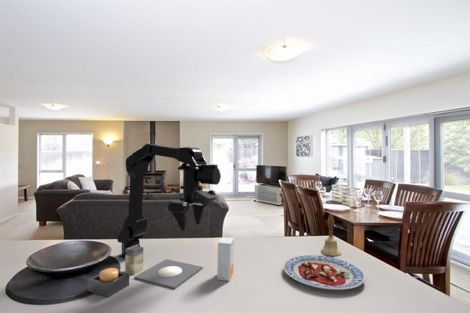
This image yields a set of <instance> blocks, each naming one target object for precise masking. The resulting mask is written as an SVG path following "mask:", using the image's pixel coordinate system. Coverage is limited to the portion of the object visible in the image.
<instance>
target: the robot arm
mask: <svg viewBox="0 0 470 313" xmlns="http://www.w3.org/2000/svg"><path fill="white" fill-rule="evenodd" d="M155 156H158V157H165V158H171V159H174V160H176V161H178V162H180V163H181V165H180V166H178V167H177V171H182V175H183V176H182V185H180V187H179V188H180V190H182V197H180V198H179V199H180V200H172V201H170V202H168V204H167V211H169V212H170V213H171V214H172V215H173V217H174V218H175V220H176V222H177V225H178V227H179V229H180V231H181V232H182V231H183V232H184V231H185V230H186V224H187V223H186V222H187V215H188V214H189V213H190V211H189V210H190V207H191V206H192V210H193V211H192V212H193V214H194V215H193V216H194V219H195V224H196V225H200V223H201V221H202V217H203V215H204V212H205V209H206V208H208V207H209V206H212V205H213V203H214V201H216V199H217V198H216V191H215V190H213V189H211V190H209V191H205V190H203V186H202V185H200V184H203V185H218V184H219V183H220V182H221V177H222V176H221V175H222V174H221V172H220V169H219V167H218V166H219V164H213V163H212V164H208V161H207V160H206V159H205V158H204V155H203V152H202V150H201V148H200V147H191V146H190V147H188V146H185V147H174V146H173V147H171V146H166V145H158V144H155V143H146V144H144V145H143V146H142V147H141V148H140V149H137V150H136V151H134V152H133V153H132V154H131V155H129V156H127V158H126V159H125V171H126V174H127V175H128V176H129V196H128V198H129V199H128V214H127V217H126V218H125V220H124V221H123V226H122V230H121V231H120V232H119V234H117V236H116V239H117V243H120V244H121V253H120V254H118V256H117V257H119V258H123V259H126V249H127V248H129V247H132V246H134V245H135V246H140V247H141V243H140V241H141V240H140V239H142V238H144V234H145V233H146V232H147V229H148V225H147V224H148V218H145V217H144V214H143V196H144V178H145V176H146V175H147V173H148V171H149V165H150V164H152V162H153V161H154V159H155Z"/></svg>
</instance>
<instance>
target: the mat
mask: <svg viewBox="0 0 470 313" xmlns="http://www.w3.org/2000/svg"><path fill="white" fill-rule="evenodd" d="M203 268H204V267H203V266H202V265H201V266H200V265H195V264H191V263H186V262H181V261H177V260H172V259H167V258H166V259H164V260H162V261H160V262H158V263H157V264H154V265H153V266H151V267H149V268H147V269H145V270H143V271H141V272H139V273H137V274H135V275H133V278H134V279H135V280H137V281H143V282H147V283H149V284H154V285H156V286H157V285H158V286H162V287H166V288H170V289H173V290H176V289H177V288H179V287H180V286H181V285H183V284H184V283H185V282H186V281H188V280H190V278H192V277H193V276H195V275H196V274H198V273H199V272H200V271H201V270H202V269H203Z"/></svg>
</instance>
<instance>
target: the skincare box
mask: <svg viewBox="0 0 470 313" xmlns="http://www.w3.org/2000/svg"><path fill="white" fill-rule="evenodd" d="M234 245H235V238H234V237H233V238H232V237H230V238H229V237H222V238H221V239H220V240H219V241H218V243H217V267H216V268H217V271H216V272H217V274H216V279H217V280H218V281H227V282H230V280H231V278H232V276H233V275H234V262H235V261H234V256H235V255H234V254H235V253H234V251H235V250H234V249H235V246H234Z"/></svg>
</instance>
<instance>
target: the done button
mask: <svg viewBox="0 0 470 313" xmlns="http://www.w3.org/2000/svg"><path fill="white" fill-rule="evenodd" d="M118 271H119V269H118V268H115V267H109V268H105V269H102V270H101V271H99V274H100V281H102V282H106V283H109V282H111V281H113V280H115V279H117V278H118Z"/></svg>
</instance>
